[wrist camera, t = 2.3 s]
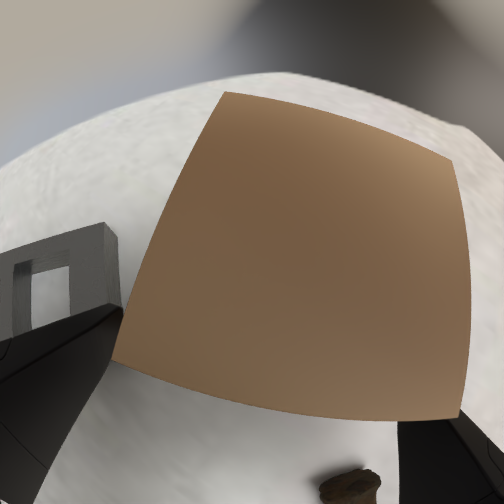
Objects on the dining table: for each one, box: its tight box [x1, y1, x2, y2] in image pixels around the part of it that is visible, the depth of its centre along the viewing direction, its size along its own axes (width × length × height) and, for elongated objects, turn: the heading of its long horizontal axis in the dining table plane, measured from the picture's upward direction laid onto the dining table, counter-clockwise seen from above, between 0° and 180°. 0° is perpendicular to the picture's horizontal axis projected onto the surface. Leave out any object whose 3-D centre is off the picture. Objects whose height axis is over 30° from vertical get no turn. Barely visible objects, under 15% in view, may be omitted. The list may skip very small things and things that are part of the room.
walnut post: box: [111, 92, 471, 421], centre depth 10 cm, size 4×4×15 cm
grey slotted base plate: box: [0, 222, 122, 341], centre depth 15 cm, size 18×9×2 cm, turn 103°
